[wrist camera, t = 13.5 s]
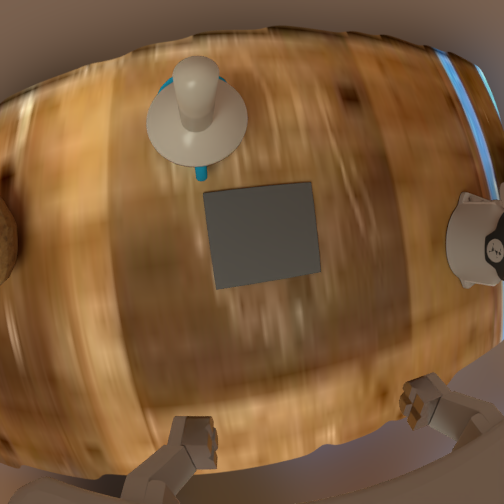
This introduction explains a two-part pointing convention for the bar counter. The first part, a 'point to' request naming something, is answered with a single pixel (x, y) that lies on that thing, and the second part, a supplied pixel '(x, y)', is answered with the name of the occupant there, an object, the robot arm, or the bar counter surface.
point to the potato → (7, 242)
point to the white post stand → (197, 115)
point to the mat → (262, 234)
